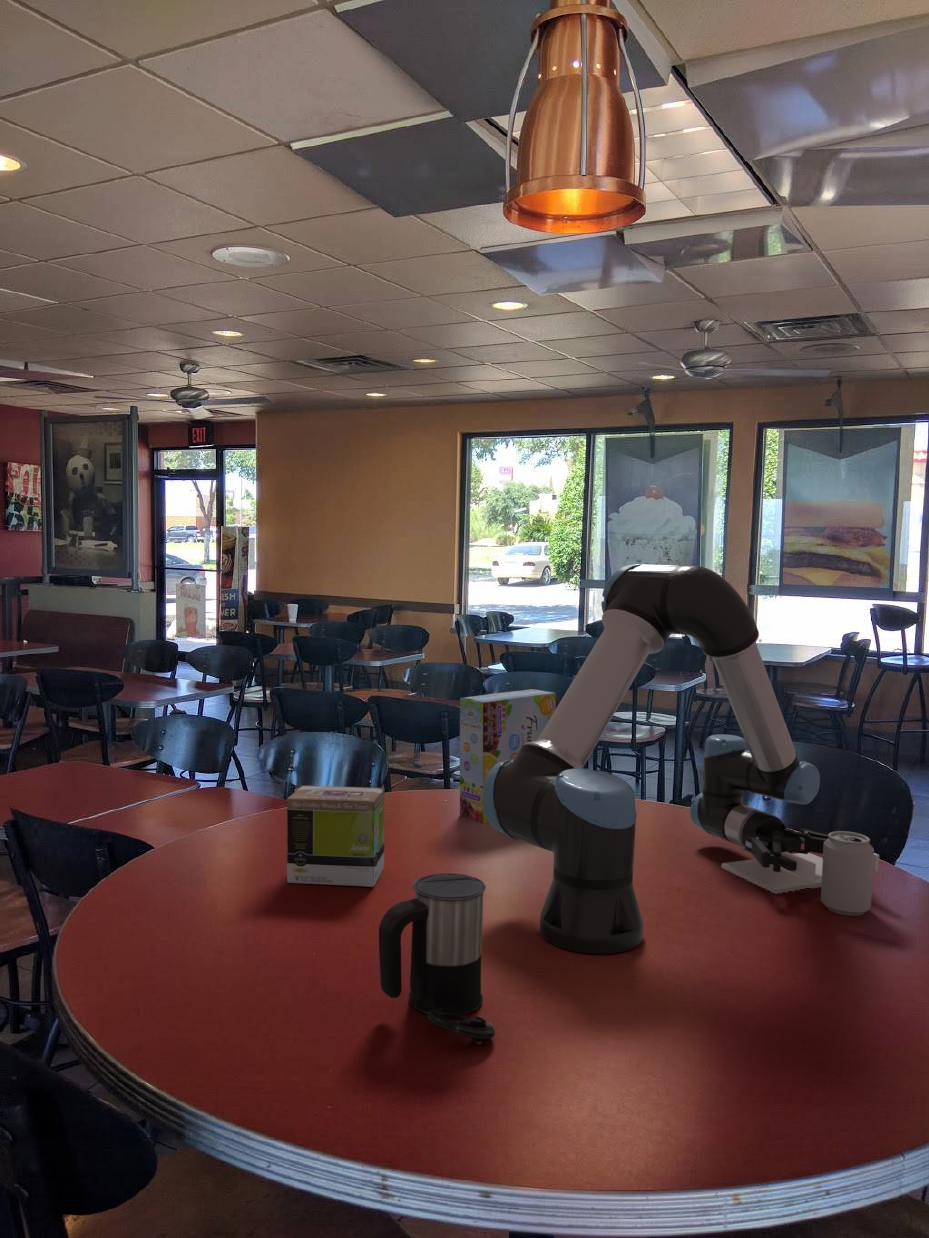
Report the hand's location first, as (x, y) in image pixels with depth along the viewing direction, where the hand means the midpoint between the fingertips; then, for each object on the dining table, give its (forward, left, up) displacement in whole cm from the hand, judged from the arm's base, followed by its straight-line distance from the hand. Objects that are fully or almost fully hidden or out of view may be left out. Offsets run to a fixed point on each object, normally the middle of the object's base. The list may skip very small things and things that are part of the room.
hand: (846, 867), depth 153 cm
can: (0, -1, -7) cm, 7 cm away
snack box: (-64, +37, -7) cm, 74 cm away
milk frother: (-51, -54, -7) cm, 74 cm away
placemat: (-7, +14, -6) cm, 17 cm away
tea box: (-83, -13, -7) cm, 84 cm away
